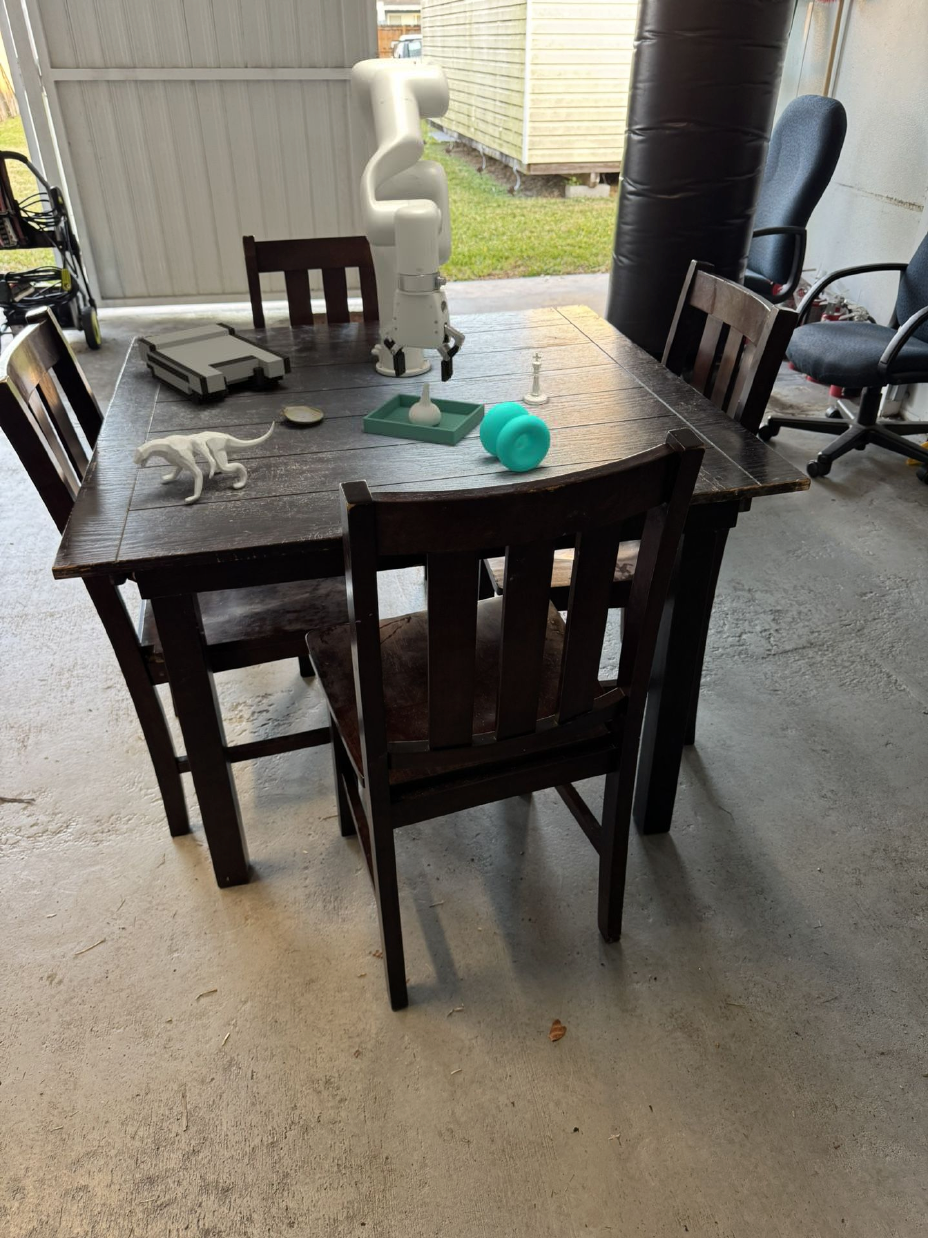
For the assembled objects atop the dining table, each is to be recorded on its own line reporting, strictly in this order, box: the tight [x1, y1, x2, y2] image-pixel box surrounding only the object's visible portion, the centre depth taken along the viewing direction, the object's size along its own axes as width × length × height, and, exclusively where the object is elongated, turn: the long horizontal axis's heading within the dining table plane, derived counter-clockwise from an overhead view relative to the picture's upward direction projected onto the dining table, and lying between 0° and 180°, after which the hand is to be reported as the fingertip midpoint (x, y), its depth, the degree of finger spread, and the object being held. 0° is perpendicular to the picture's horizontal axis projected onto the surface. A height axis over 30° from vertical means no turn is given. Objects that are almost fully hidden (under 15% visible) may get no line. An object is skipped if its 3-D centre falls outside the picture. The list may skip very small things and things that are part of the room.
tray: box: [362, 392, 486, 446], centre depth 165 cm, size 19×15×3 cm
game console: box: [136, 322, 292, 406], centre depth 188 cm, size 21×32×8 cm, turn 40°
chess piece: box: [523, 352, 548, 406], centre depth 174 cm, size 5×5×10 cm
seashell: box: [279, 405, 324, 425], centre depth 168 cm, size 8×3×8 cm
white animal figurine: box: [132, 420, 275, 503], centre depth 142 cm, size 12×25×10 cm, turn 126°
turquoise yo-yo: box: [479, 401, 551, 473], centre depth 147 cm, size 10×10×10 cm
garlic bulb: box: [409, 382, 441, 427], centre depth 164 cm, size 6×6×8 cm
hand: (423, 377), depth 160 cm, fingers open, 9 cm apart
